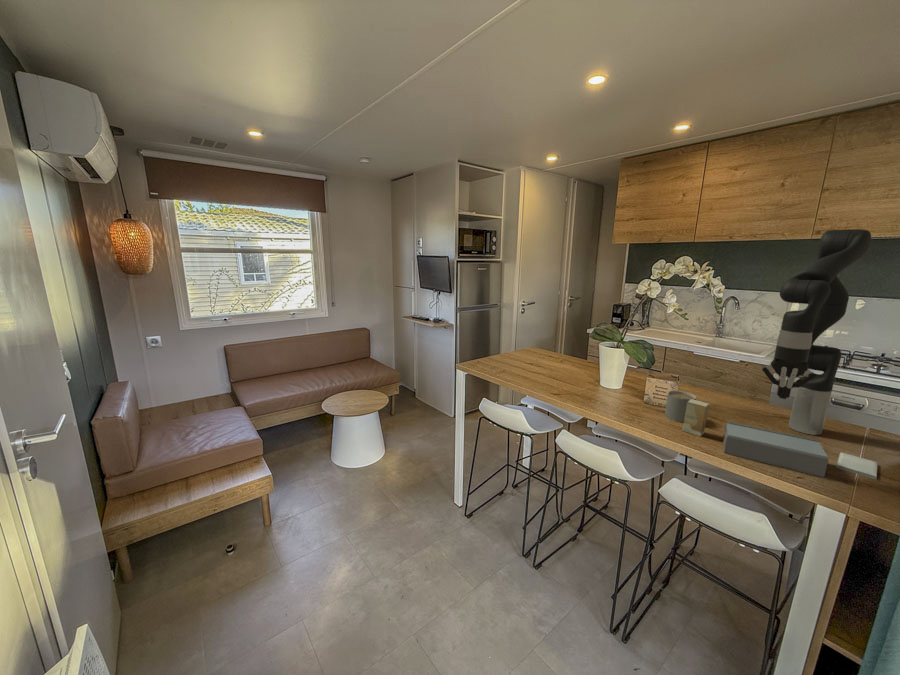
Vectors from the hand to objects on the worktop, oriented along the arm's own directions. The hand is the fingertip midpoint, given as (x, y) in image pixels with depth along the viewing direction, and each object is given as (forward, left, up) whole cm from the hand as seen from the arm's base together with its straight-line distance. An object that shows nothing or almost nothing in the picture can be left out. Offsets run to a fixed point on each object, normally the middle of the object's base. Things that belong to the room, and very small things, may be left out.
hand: (782, 397), depth 113 cm
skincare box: (-7, -21, -21) cm, 31 cm away
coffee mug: (-21, -26, -21) cm, 40 cm away
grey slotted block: (-1, 0, -21) cm, 21 cm away
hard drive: (-10, +22, -22) cm, 32 cm away
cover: (-1, 0, -15) cm, 15 cm away
